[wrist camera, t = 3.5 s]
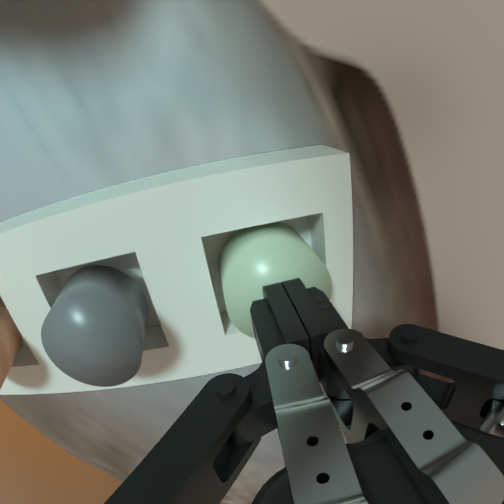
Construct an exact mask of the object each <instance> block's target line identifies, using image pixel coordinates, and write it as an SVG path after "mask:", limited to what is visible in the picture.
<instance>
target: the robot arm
mask: <svg viewBox="0 0 504 504" xmlns="http://www.w3.org/2000/svg"><path fill="white" fill-rule="evenodd" d="M262 290H263V297H264V299H260V300H256V301H253V302H252V305H251V308H250V314H251V320H252V325H253V330H254V335H255V340H256V343H257V347H258V350H259V353H260V357H261V360H262V364H261V365H260V367H259V368H258V369H257V370H256V371H254V372H253V373H251V374H249V375H247V376H246V377H244V378H243V377H242V376H240V375H237V374H231V373H228V374H221V375H218V376H216V377H214V378H212V379H211V380H210V381H209V382H208V383H207V384H206V385H205V386H204V387H203V389H202V390H201V391H200V392H199V394H198V395H197V396H196V397H195V399H194V400H193V401H192V402H191V403H190V405H189V406H188V407H187V408H186V410H185V411H184V412H183V413H182V414H181V416H180V417H179V418H178V419H177V420H176V422H175V423H174V424H173V425H172V426H171V428H170V429H169V430H168V431H167V432H166V434H165V435H164V436H163V437H162V438H161V439H160V441H159V442H158V443H157V444H156V445H155V446H154V448H153V449H152V450H151V451H150V452H149V453H148V455H147V456H146V457H145V458H144V459H143V460H142V462H141V463H140V464H139V465H138V466H137V467H136V468H135V470H134V471H133V472H132V473H131V474H130V475H129V476H128V478H127V479H126V480H125V481H124V482H123V483H122V484H121V486H120V487H119V488H118V489H117V490H116V491H115V492H114V493H113V494H112V495H111V496H110V498H109V499H108V500H107V501H106V502H105V503H104V504H219V503H220V502H221V500H222V499H223V498H224V496H225V495H226V493H227V492H228V490H229V489H230V487H231V486H232V484H233V483H234V481H235V480H236V478H237V477H238V475H239V474H240V472H241V471H242V469H243V468H244V466H245V464H246V463H247V461H248V460H249V458H250V457H251V455H252V453H253V452H254V450H255V449H256V447H257V445H258V444H259V442H260V440H261V437H262V436H263V435H265V434H267V433H269V432H271V431H272V430H274V429H276V428H278V433H279V438H280V443H281V448H282V454H283V459H284V464H285V468H283V469H282V470H280V471H279V472H277V473H276V474H275V475H273V476H272V477H271V478H270V479H269V480H268V481H267V482H266V483H265V484H264V485H263V486H262V488H261V489H260V490H259V492H258V493H257V495H256V497H255V499H254V500H253V502H252V504H504V350H501V349H497V348H493V347H490V346H486V345H483V344H479V343H476V342H472V341H469V340H465V339H461V338H458V337H454V336H451V335H447V334H444V333H441V332H437V331H434V330H430V329H427V328H423V327H420V326H416V325H412V324H403V325H399V326H397V327H395V328H394V329H393V330H392V331H391V333H390V336H389V338H381V339H366V338H365V337H364V336H363V335H362V334H361V333H360V332H358V331H356V330H353V329H349V328H348V326H347V325H346V323H345V322H344V321H343V319H342V318H341V316H340V315H339V313H338V312H337V310H336V309H335V307H334V306H333V304H332V303H331V302H330V301H329V299H328V297H327V296H326V294H325V293H324V292H323V291H321V290H319V289H318V288H316V287H311V288H307V289H306V287H305V286H304V284H303V283H302V281H301V279H300V278H296V279H291V280H287V281H283V282H279V283H274V284H270V285H265V286H262ZM421 369H422V370H425V371H429V372H432V373H435V374H438V375H441V376H444V377H448V378H451V379H453V380H454V381H455V382H453V383H447V382H444V381H441V380H438V379H435V378H432V377H428V376H425V375H422V374H420V371H421ZM319 382H321V383H322V385H323V387H324V396H323V393H322V390H321V387H320V384H319ZM339 425H340V427H341V429H342V430H343V432H344V434H345V436H346V439H347V442H348V444H345V441H344V439H343V436H342V433H341V430H340V427H339Z"/></svg>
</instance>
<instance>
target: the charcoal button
mask: <svg viewBox="0 0 504 504" xmlns="http://www.w3.org/2000/svg"><path fill="white" fill-rule="evenodd" d="M147 318H148V303H147V300H146V297H145V295H144V293H143V291H142V289H141V288H140V287H139V285H138V284H137V283H136V282H135V281H134V280H133V279H132V278H131V277H129V276H128V275H127V274H125V273H123V272H122V271H120V270H117V269H115V268H112V267H108V266H102V265H92V266H87V267H84V268H81V269H79V270H77V271H76V272H74V273H73V274H72V275H71V276H70V277H69V279H68V280H67V282H66V283H65V285H64V287H63V288H62V290H61V292H60V293H59V295H58V297H57V299H56V300H55V302H54V304H53V306H52V307H51V309H50V311H49V313H48V314H47V316H46V318H45V320H44V322H43V324H42V328H41V340H42V344H43V347H44V350H45V352H46V354H47V355H48V357H49V358H50V360H51V361H52V362H53V363H54V364H55V366H56V367H58V368H59V369H60V370H61V371H62V372H63V373H65V374H66V375H68V376H69V377H71V378H73V379H75V380H77V381H79V382H82V383H85V384H88V385H92V386H99V387H111V386H117V385H120V384H123V383H125V382H127V381H129V380H130V379H132V378H133V377H134V376H135V375H136V373H137V372H138V370H139V369H140V366H141V361H142V353H143V346H144V338H145V331H146V324H147Z"/></svg>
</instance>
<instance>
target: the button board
mask: <svg viewBox="0 0 504 504" xmlns="http://www.w3.org/2000/svg"><path fill="white" fill-rule="evenodd" d="M277 221H279V222H282V223H285V224H287V225H289V226H291V227H292V228H293V229H295V230H296V231H297V232H298V233H299V234H300V236H301V237H302V238H303V239H304V240H305V242H306V243H307V244H308V245H309V246H310V248H311V249H312V250H313V251H314V252H315V254H316V255H317V256H318V257H319V258H320V260H321V261H322V262H323V263H324V265H325V266H326V268H327V269H328V271H329V274H330V277H331V282H332V292H331V297H330V300H329V301H330V302H331V303H332V304H333V306H334V307H335V309H336V310H337V312H338V313H339V315H340V316H341V318H342V319H343V321H344V322H345V323H346V325H347V326H348V328H349V329H351V326H352V301H353V213H352V188H351V170H350V155H349V153H347V152H344V151H341V150H338V149H335V148H332V147H328V146H325V145H316V146H308V147H301V148H293V149H286V150H280V151H273V152H267V153H261V154H255V155H249V156H243V157H238V158H232V159H227V160H221V161H216V162H211V163H206V164H201V165H197V166H192V167H187V168H183V169H178V170H174V171H169V172H165V173H161V174H156V175H152V176H148V177H144V178H140V179H136V180H132V181H128V182H125V183H121V184H117V185H113V186H110V187H106V188H103V189H99V190H96V191H92V192H89V193H85V194H82V195H79V196H75V197H72V198H69V199H66V200H62V201H59V202H56V203H53V204H50V205H47V206H44V207H41V208H38V209H35V210H32V211H29V212H27V213H24V214H21V215H18V216H15V217H13V218H10V219H7V220H4V221H2V222H0V303H1V304H2V305H3V306H4V307H5V308H6V309H7V310H8V311H9V313H10V315H11V317H12V319H13V321H14V323H15V324H16V326H17V328H18V330H19V331H20V333H21V335H22V346H21V349H20V350H19V352H18V354H17V356H16V358H15V360H14V362H13V364H12V366H11V368H10V370H9V373H8V375H7V377H6V379H5V381H4V383H3V385H2V387H1V389H0V395H11V394H48V393H66V392H80V391H91V390H102V389H112V388H121V387H129V386H137V385H144V384H151V383H158V382H165V381H171V380H177V379H183V378H189V377H195V376H200V375H205V374H211V373H216V372H221V371H226V370H231V369H235V368H240V367H244V366H249V365H253V364H258V363H262V360H261V357H260V353H259V350H258V347H257V343H256V340H255V339H254V338H252V337H249V336H247V335H245V334H243V333H242V332H241V331H239V330H238V329H237V328H236V327H235V326H234V324H233V323H232V322H231V320H230V318H229V316H228V313H227V309H226V304H225V299H224V294H223V289H222V283H221V278H220V273H219V257H220V253H221V250H222V248H223V246H224V244H225V243H226V241H227V240H228V239H229V237H230V236H231V235H232V234H233V233H234V232H236V231H237V230H238V229H243V228H248V227H252V226H257V225H262V224H267V223H272V222H277ZM92 265H102V266H108V267H112V268H115V269H117V270H120V271H122V272H123V273H125V274H127V275H128V276H129V277H131V278H132V279H133V280H134V281H135V282H136V283H137V284H138V285H139V287H140V288H141V289H142V291H143V293H144V295H145V297H146V300H147V303H148V318H147V324H146V331H145V338H144V346H143V353H142V361H141V366H140V369H139V370H138V372H137V373H136V375H135V376H134V377H133V378H132V379H130V380H129V381H127V382H125V383H123V384H120V385H117V386H111V387H99V386H92V385H88V384H85V383H82V382H79V381H77V380H75V379H73V378H71V377H69V376H68V375H66V374H65V373H63V372H62V371H61V370H60V369H59V368H58V367H56V366H55V364H54V363H53V362H52V361H51V360H50V358H49V357H48V355H47V354H46V352H45V350H44V347H43V344H42V340H41V328H42V324H43V322H44V320H45V318H46V316H47V314H48V313H49V311H50V309H51V307H52V306H53V304H54V302H55V300H56V299H57V297H58V295H59V293H60V292H61V290H62V288H63V287H64V285H65V283H66V282H67V280H68V279H69V277H70V276H71V275H72V274H73V273H74V272H76V271H77V270H79V269H81V268H84V267H87V266H92Z"/></svg>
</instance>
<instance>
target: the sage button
mask: <svg viewBox="0 0 504 504" xmlns="http://www.w3.org/2000/svg"><path fill="white" fill-rule="evenodd" d="M219 273H220V278H221V283H222V289H223V294H224V299H225V304H226V309H227V313H228V316H229V318H230V320H231V322H232V323H233V324H234V326H235V327H236V328H237V329H238V330H239V331H241V332H242V333H243V334H245V335H247V336H249V337H252V338H254V339H255V335H254V330H253V325H252V320H251V314H250V308H251V305H252V302H253V301H256V300H260V299H264V297H263V290H262V286H265V285H270V284H274V283H279V282H283V281H287V280H291V279H296V278H300V279H301V281H302V283H303V284H304V286H305V287H306V289H307V288H311V287H316V288H318V289H319V290H321V291H323V292H324V293H325V294H326V296H327V297H328V299H329V300H330V297H331V292H332V282H331V277H330V274H329V271H328V269H327V268H326V266H325V265H324V263H323V262H322V261H321V260H320V258H319V257H318V256H317V255H316V254H315V252H314V251H313V250H312V249H311V248H310V246H309V245H308V244H307V243H306V242H305V240H304V239H303V238H302V237H301V236H300V234H299V233H298V232H297V231H296V230H295V229H293V228H292V227H291V226H289V225H287V224H285V223H282V222H279V221H277V222H272V223H267V224H262V225H257V226H252V227H248V228H243V229H238V230H237V231H236V232H234V233H233V234H232V235H231V236H230V237H229V239H228V240H227V241H226V243H225V244H224V246H223V248H222V250H221V253H220V257H219Z"/></svg>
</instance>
